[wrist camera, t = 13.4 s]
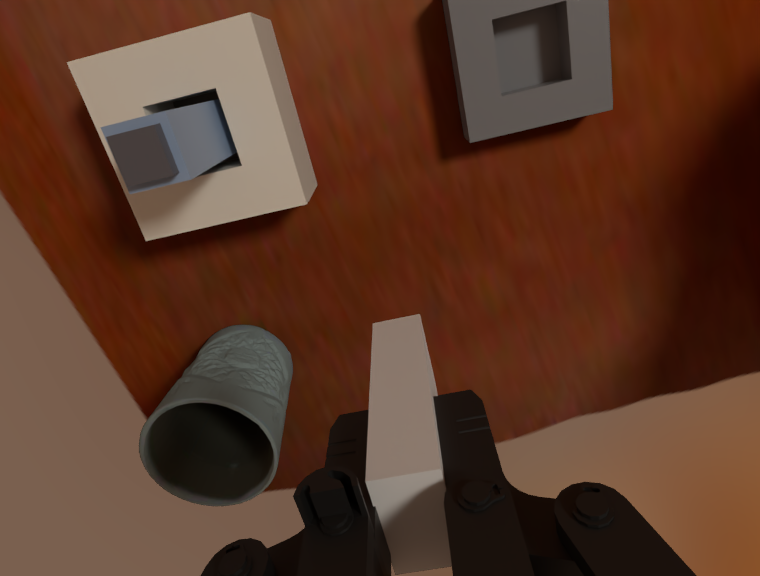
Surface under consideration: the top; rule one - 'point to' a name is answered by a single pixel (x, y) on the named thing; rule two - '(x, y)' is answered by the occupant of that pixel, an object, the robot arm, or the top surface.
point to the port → (241, 108)
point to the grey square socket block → (528, 62)
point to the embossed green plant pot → (222, 420)
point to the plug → (170, 145)
